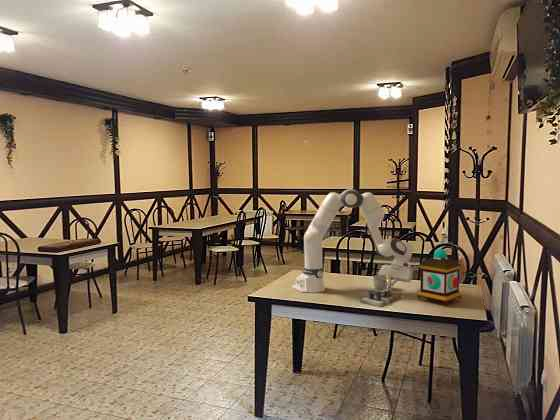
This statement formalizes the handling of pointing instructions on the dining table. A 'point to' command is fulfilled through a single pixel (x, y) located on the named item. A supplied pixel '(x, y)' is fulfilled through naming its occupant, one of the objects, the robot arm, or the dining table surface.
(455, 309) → the dining table surface
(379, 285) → the teacup
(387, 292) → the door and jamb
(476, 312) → the dining table surface
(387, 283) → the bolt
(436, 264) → the decorative lantern
